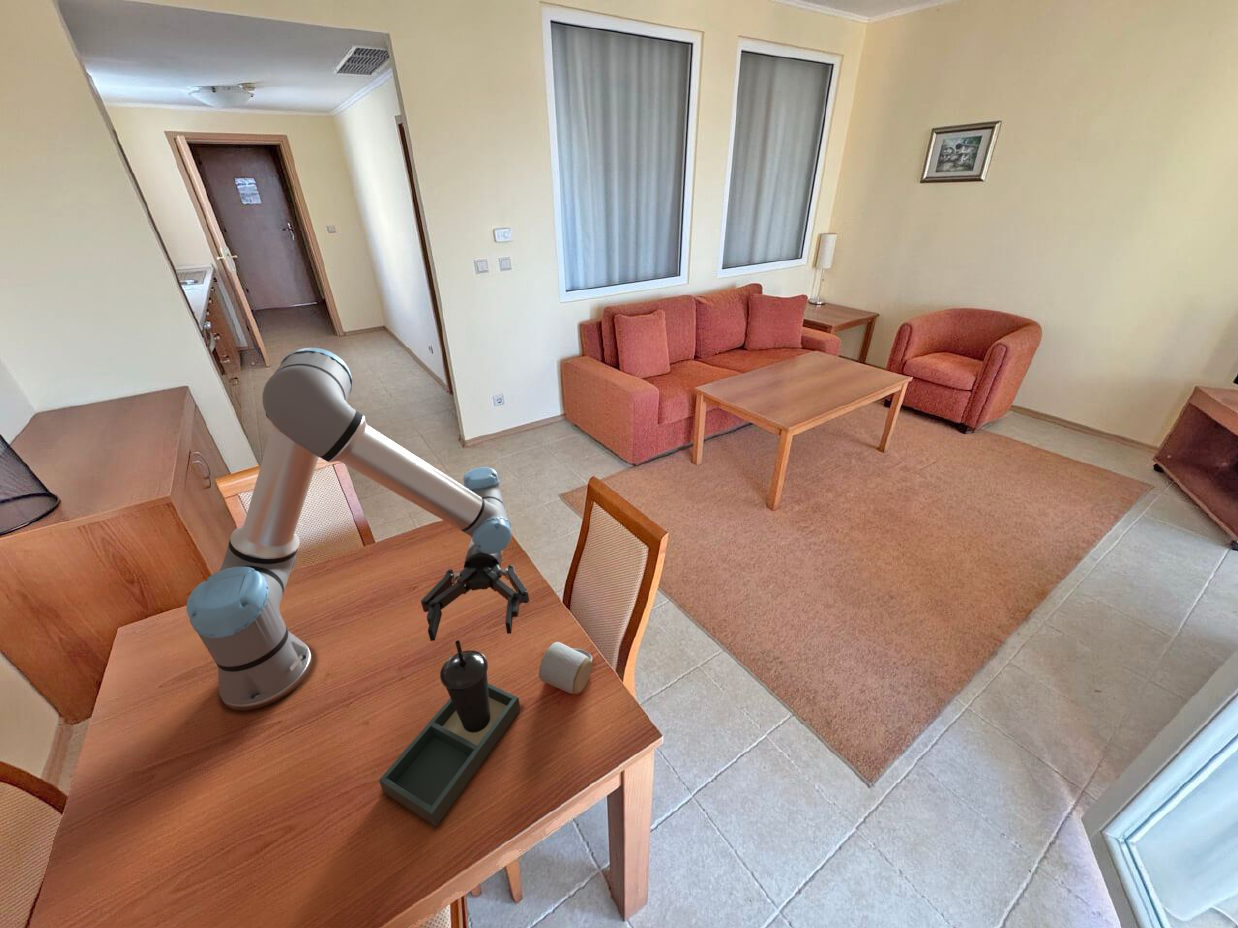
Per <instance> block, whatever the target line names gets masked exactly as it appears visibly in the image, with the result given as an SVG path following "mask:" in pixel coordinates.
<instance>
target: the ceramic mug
mask: <svg viewBox="0 0 1238 928" xmlns="http://www.w3.org/2000/svg"><path fill="white" fill-rule="evenodd" d="M592 668H593V656H592V654H591V653H590V652H588V651H587V650H584V649H582V648H581V649H580V648H576V647H575V648H572V647H571V646H568V645H566V644H564V643H562V642H560V641H555V642H553V643H552V644H551V645H550V646H549V647H548V648H547V650H546V651H545V653H544V655H543V657H542V658H541V661H540V666H539V669H538V670H539V671H538V678H539V680H540V681H541V682H544V683H546V684H548V685H550V686H552V687H555V688H557V689H559V690H562V691H563V692H566V693H568V694H572V695H577V694H579V693H581V692H582V691H583V690H584V689H585V687H586V685H587V684H588V682H589V679H590V676H591V673H592Z"/></svg>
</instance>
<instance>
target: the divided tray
mask: <svg viewBox="0 0 1238 928" xmlns="http://www.w3.org/2000/svg"><path fill="white" fill-rule="evenodd" d="M488 694H489V706H490V721H489V723H488V725H487V726H486V727H485V728H484V729H483V730H481V731H479V732H474V733H472V732H468V731H466V730H465V729H464V727H463V725H462V722H461V720H460V718H459V716H458V713H457V711H456V709H455V707H454V704H453V702H452V700H451V698H450V697H449V699H448V700H447V701H446V702H445V703H444V704H443V706H441V708H440V709H439V710H438V711H437V713H436V714H435V715H434V716H433V717H432V718H431V719H430V721H428V723H427V724H426V725H425V726H424V728H423V729H422V730H421V731H420V732H419V733H418V734H417V736H415V738H414V739H413V740H412V741H411V742H410V744H409V745H408V746H407V747H406V748H405V749H404V751H403V752H402V753H401V754H400V755H399V756H398V757H397V758H396V760H395V761H394V762H393V763H392V764H391V765H390V766H389V768H388V769H387V770H386V771H385V772H384V773H383V774H382V776H380V778H379V779H378V782H379V784H380V787H381V789H382V791H383V793H384V794H385V795H387V796H388V797H390V798H391V799H392V800H394V801H396V802H398V803H399V804H400V805H402V806H404V807H405V808H407V809H408V810H409V811H411V812H413V813H414V814H416V815H417V816H419V817H420V818H422V819H423V820H425V821H426V822H428V823H429V824H431V825H433V826H434V827H438V825H439V824H440V822H441V821H442V820H443V818H444V817H445V815H446V814H447V813H448V811H449V810H450V808H451V807H452V805H453V804H454V803H455V801H456V800H457V799H458V797H459V796H460V794H461V793H462V792H463V790H464V789H465V788H466V786H467V785H468V783H469V782H470V781H471V779H472V778H473V777H474V775H475V774H476V772H477V771H478V769H479V768H480V767H481V766H482V765H483V762H484V761H485V759H486V758H487V757H488V755H489V754H490V753H491V752H492V750H493V748H494V747H495V746H496V744H497V743H498V742H499V740H500V739H501V737H502V736H503V735H504V733H505V732H506V731H507V729H508V728H509V726H510V725H511V724H512V722H513V721H514V719H515V718H516V716H517V715H518V713H520V711H521V706H520V699H519V696H517V695H514V694H512V693H510V692H508V691H507V690H504V689H501V688H499V687H497V686H495V685H493V684H492V683H489V682H488Z"/></svg>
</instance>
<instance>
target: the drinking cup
mask: <svg viewBox="0 0 1238 928" xmlns="http://www.w3.org/2000/svg"><path fill="white" fill-rule="evenodd" d="M454 643H455V647H456V651H457V653H455V654H453V655H451V656H450V657H449V658H448V659H447V660H446V661H445V662H444V663H443V665H442V666H441V669H440V673H439V677H440V678H439V679H440V682H441V684H442V685H443V686H444V687H445V689H446V691H447V693H448V695H449V699H450V698H451V700H452V702H453V704H454V707H455V709H456V711H457V713H458V716H459V718H460V720H461V722H462V725H463V727H464V729H465V730H466V731H468V732H472V733H474V732H479V731H481V730H483V729H484V728H485V727H486V726H487V725H488V723H489V721H490V706H489V694H488V683H489V681H488V669H489V664H488V659H487V658H486V656H485V655H484V654H483V653H482V652H479V651H477V650H472V649H471V650H470V649H469V650H463V649H462V645H461V641H460V640H455V642H454Z"/></svg>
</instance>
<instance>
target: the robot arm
mask: <svg viewBox="0 0 1238 928" xmlns="http://www.w3.org/2000/svg"><path fill="white" fill-rule="evenodd" d="M353 385H354V384H353V377H352V373H351V370H350V368H349V366H348V365H347V364H346V362H345V361H344V360H343V359H342V358H341V357H339V356H338V355H337V354H335V353H334V352H332V351H329V350H326V349H323V348H319V347H304V348H300V349H297V350H295V351H293V352H291V353H289V354H288V355H286V356H285V357H284V358H283V359H282V360H281V362H280V365H279V366H278V367H277V369H276V370H275V371H274V372H273V374H272V375H271V376H270V377H269V379H268V380H267V381H266V383H265V385H264V388H263V391H262V407H263V409H264V416H265V418H266V420H267V421H268V422H269V423H270V424H271V429H270V432H269V435H268V439H267V443H266V445H265V450H264V453H263V455H262V456H263V458H262V460H261V463H260V466H259V471H258V474H257V476H256V481H255V485H254V487H253V491H252V495H251V497H250V502H249V505H248V509H247V513H246V515H245V518H244V519H245V520H244V523H243V525H240V526H239V527H237V528H235V529H234V530H233V531H232V533H231V535H230V538H229V541H228V545H227V549H226V551H225V555H224V558H223V561H222V564H221V566H220V569H219V571H217V572H215V573H213V574H211V575H209V576H208V577H207V578H206V579H207V580H205V581H201V582H200V583H198V585H197V586H196V587H195V588H194V589H193V590H192V591H191V593H190V595H189V597H188V599H187V601H186V605H185V606H186V614H187V616H188V618H189V623H190V625H191V626H192V629H193V630H194V631H195V632H196V633H197V635H198V636H199V638H200V639H201V641H202V643H203V645H204V646H205V648H206V649H207V651H208V653H209V654H210V656H211V658H212V660H213V661H214V663H215V664H216V666H217V671H218V678H217V679H218V680H217V681H218V694H219V697H220V698H221V701H222V702H223V703H224V705H225V706H226V707H228V708H229V709H232V710H234V711H240V712H245V711H254V710H258V709H262V708H264V707H265V708H266V707H268V706H270V705H272V704H274V703H276V702H278V701H281V700H282V699H283V698H285V697H286V696H288V695H290V694H291V692H293V691H295V689H297V688H298V687H299V686H300V685H301V684H302V683H303V681H305V680H306V678H307V677H308V674H309V673H310V670H311V668H312V666H313V655H312V652H311V650H310V649H309V646H308V645H307V644H306V643H305V642H303V641H302V640H301V639H300V638H298V637H297V636H296V635H294V634H293V633H292V632H290V631H289V630H288V628H287V626H286V625H287V624H286V623H285V621H284V618H283V617H282V614H281V611H280V606H281V603H282V599H283V597H284V594H285V591H286V587H287V584H288V580H289V578H290V574H291V572H292V571H293V568H294V566H295V563H296V559H297V557H296V556H297V553H298V550H299V547H300V542H301V541H300V538H299V536H298V535H297V534H296V530H297V526H298V523H299V520H300V518H301V514H302V511H303V508H304V506H305V505H304V504H305V501H306V498H307V495H308V493H309V489H310V486H311V483H312V481H313V480H312V479H313V476H314V474H315V470H316V467H317V464H318V461H319V459H322V460H324V461H325V462H327V463H328V464H329V463H336V462H340V463H342V464H343V465H346V466H347V467H349V468H351V469H352V470H354V471H355V472H357V473H359V474H361V475H363V476H364V477H367V478H368V479H370V480H372V481H373V482H375V483H377V484H379V485H381V486H382V487H384V488H386V489H387V490H389V491H391V492H393V493H395V494H397V495H398V496H400V497H402V498H403V499H405V500H407V501H408V502H410V503H412V504H414V505H416V506H418V507H419V508H421V509H422V510H425V511H426V512H428V513H430V514H431V515H433V516H435V517H437V518H439V519H441V521H444V522H446V523H447V524H449V525H451V526H453V527H455V528H456V529H458V530H459V531H461V532H463V533H465V534H466V535H468V536H470V538H469V539H470V540H469V544H468V547H467V552H466V556H465V560H464V564H463V568H462V570H461V571H460V572H454V570H453V569H449V568H448V569H447V570H446V572H445V574H444V575H443V577H442V579H441V580H439V582H438V583H436V584H435V585H434V586H433V587H432V589H431V590H430V591H429V592H427V594H426V595H425V596H423V598H422V599H421V600H420V603H421V607H422V610H423V613H427V614H426V622H427V624H428V628H427V633H428V637H429V640H430V642H435V641H436V638H437V634H438V630H439V627H440V623H441V619H442V616H443V612H442V610H443V609H445V608H446V607H447V606H448V605H449V604H451V603H452V602H454V601H455V600H456V599H458V598H459V597H461V596H462V595H466V594H468V592H470V591H478V590H488V589H489V588H490V589H491V590H492V591H494V592H495V593H498V594H499V595H500V596H502V598H504V599H505V600H506V601H507V606H506V614H505V630H506V634H508V635H509V634H512V630H513V629H512V628H513V621H514V620H513V619H514V618H518V617H519V613H520V605H521V604H522V603H523V604H528V603H529V602H530V596H529V590H528V589H527V588H526V586H525V584H524V583H523V582H522V580H521V578H520V577H519V575H517V573H516V572H515V566H514V564H509V565H508V566H507V568H501V567H502V560H503V554H504V553H503V552H504V550H505V549H506V548H507V547H508V546H509V545H510V544H511V542H512V539H513V538H512V537H513V533H512V525H511V522H510V520H509V517H508V514H507V510H506V506H505V503H504V498H503V495H502V492H501V485H500V484H501V482H500V480H499V476H498V472H497V471H496V470H495V469H493V467H492V468H491V467H489V466H481V467H475V468H472V469H470V470H469V471H467V472H466V473H465V474H464V475H463V479H462V481H463V485H462V484H461V483H460V482H458V481H457V480H455V479H453V478H452V477H451V476H449V475H447V474H445V473H444V472H442V471H440V470H439V469H437V468H436V467H434V466H432V465H431V464H430V463H428V462H426V461H425V460H423V459H421V458H420V457H419V456H417V455H415V454H414V453H412V452H410V451H409V450H407V449H406V448H404V447H403V446H401V445H400V444H398V443H396V442H395V441H393V440H392V439H390V438H388V437H387V436H385V435H384V434H382V433H381V432H379V431H378V430H376V429H375V428H373V427H371V426H370V425H368V423H367V421H366V416H365V415H363V414H362V413H360V412H359V411H358V410H356V409H355V408H353V407H352V406H351V405H350V404H349V403H348V399H349V397H350V394H351V392H352V390H353ZM503 576H504V578H505V579H506V580H508V581H509V583H510V585H511V586H512V587H511V586H510V585H508V584H507V583H505V581H503V580H501V578H502V577H503Z"/></svg>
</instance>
